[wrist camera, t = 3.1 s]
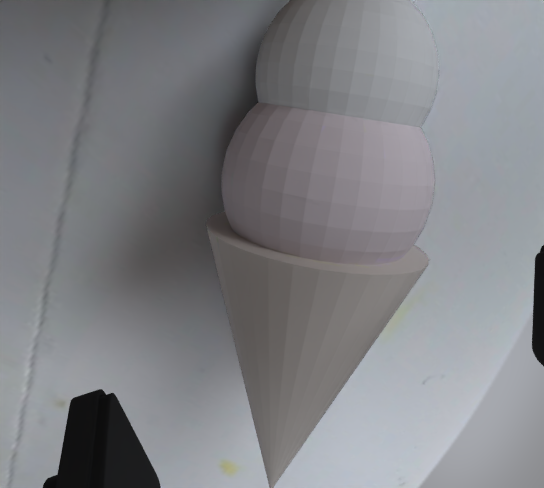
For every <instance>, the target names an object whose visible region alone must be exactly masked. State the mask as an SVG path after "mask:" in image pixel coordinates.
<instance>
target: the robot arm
mask: <svg viewBox="0 0 544 488" xmlns="http://www.w3.org/2000/svg"><path fill="white" fill-rule="evenodd" d="M532 349H533V352H534V354H535V356H536V358H537V360H538V361H539V362H540V363H541V364H542V365H543V366H544V245H543V246H542V248H541V250H540V253H538V254H537V255H536V258H535V279H534V306H533V334H532ZM43 488H161V487H160V483H159V479H158V477H157V474H156V472H155V471H154V469H153V467H152V465H151V463H150V461H149V459H148V457H147V455H146V453H145V451H144V449H143V447H142V445H141V443H140V441H139V440H138V438H137V436H136V434H135V432H134V430H133V428H132V426H131V424H130V422H129V420H128V418H127V416H126V414H125V412H124V411H123V409H122V407H121V405H120V403H119V401H118V399H117V397H116V396H115V394H114V393H111V394H108V395H106V394H105V392H104V391H103V390H100V389H99V390H96V391H93V392H90V393H87V394H84V395H81V396H78V397H75V398H73V399H72V400H71V403H70V407H69V413H68V419H67V424H66V430H65V436H64V442H63V447H62V453H61V459H60V464H59V470H58V475H56V476H53V477H50V478H48V479H47V480H46V481H45V483H44V485H43Z"/></svg>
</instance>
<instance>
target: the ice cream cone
mask: <svg viewBox="0 0 544 488" xmlns="http://www.w3.org/2000/svg"><path fill="white" fill-rule="evenodd" d="M438 78H439V61H438V51H437V48H436V44H435V41H434V37H433V34H432V31H431V29H430V27H429V25H428V23H427V21H426V19H425V18H424V16H423V14H422V13H421V12H420V11H419V10H418V8H417V7H416V6H415V5H414V4H413V3H412V1H411V0H290V1H289V2H288V3H287V4H286V5H285V6H284V7H283V8H282V9H281V10H280V11H279V12H278V14H277V15H276V17H275V18H274V20H273V21H272V23H271V24H270V25H269V27H268V29H267V31H266V34H265V36H264V38H263V41H262V43H261V46H260V50H259V54H258V59H257V63H256V82H255V83H256V90H257V97H258V103H257V104H256V105H255V106H254V107H253V108H252V109H251V110H250V111H249V112H248V113H247V115H246V116H245V117H244V119H243V120H242V122H241V123H240V124H239V126H238V127H237V129H236V130H235V133H234V135H233V137H232V139H231V142H230V144H229V146H228V148H227V151H226V155H225V160H224V164H223V169H222V191H221V192H222V197H223V203H224V209H225V212H221V213H217V214H214V215H212V216H211V217H209V218H208V219H207V221H206V227H207V231H208V235H209V240H210V244H211V248H212V252H213V256H214V260H215V264H216V268H217V272H218V277H219V281H220V285H221V289H222V293H223V297H224V301H225V305H226V310H227V314H228V318H229V322H230V326H231V330H232V334H233V338H234V342H235V347H236V351H237V355H238V359H239V363H240V367H241V371H242V375H243V379H244V384H245V388H246V392H247V396H248V400H249V404H250V408H251V412H252V417H253V421H254V425H255V429H256V433H257V437H258V441H259V445H260V449H261V454H262V458H263V462H264V466H265V470H266V474H267V478H268V482H269V487H270V488H273V487H274V485H275V484H276V482H277V481H278V480H279V478H280V477H281V475H282V474H283V472H284V471H285V470H286V468H287V467H288V465H289V464H290V462H291V461H292V460H293V458H294V457H295V455H296V454H297V452H298V451H299V449H300V448H301V447H302V445H303V444H304V442H305V441H306V439H307V438H308V437H309V435H310V434H311V432H312V431H313V429H314V428H315V426H316V425H317V424H318V422H319V421H320V419H321V418H322V416H323V415H324V414H325V412H326V411H327V409H328V408H329V406H330V405H331V404H332V402H333V401H334V399H335V398H336V396H337V395H338V393H339V392H340V391H341V389H342V388H343V386H344V385H345V383H346V382H347V381H348V379H349V378H350V376H351V375H352V373H353V372H354V370H355V369H356V368H357V366H358V365H359V363H360V362H361V360H362V359H363V358H364V356H365V355H366V353H367V352H368V350H369V349H370V348H371V346H372V345H373V343H374V342H375V340H376V339H377V337H378V336H379V335H380V333H381V332H382V330H383V329H384V327H385V326H386V325H387V323H388V322H389V320H390V319H391V317H392V316H393V314H394V313H395V312H396V310H397V309H398V307H399V306H400V304H401V303H402V302H403V300H404V299H405V297H406V296H407V294H408V293H409V291H410V290H411V289H412V287H413V286H414V284H415V283H416V281H417V280H418V279H419V277H420V276H421V274H422V273H423V271H424V270H425V269H426V267H427V266H428V263H429V258H428V257H427V255H426V253H424V252H423V251H422V250H421V249H420V248H418V247H417V246H415V245H414V243H415V242H416V240H417V238H418V237H419V235H420V233H421V232H422V230H423V228H424V226H425V223H426V221H427V218H428V215H429V212H430V209H431V206H432V201H433V194H434V186H435V177H434V164H433V159H432V155H431V152H430V148H429V145H428V141H427V139H426V137H425V135H424V133H423V131H422V130H421V126H422V125H423V123H424V121H425V119H426V117H427V116H428V114H429V112H430V110H431V108H432V104H433V101H434V98H435V95H436V92H437V86H438Z"/></svg>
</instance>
